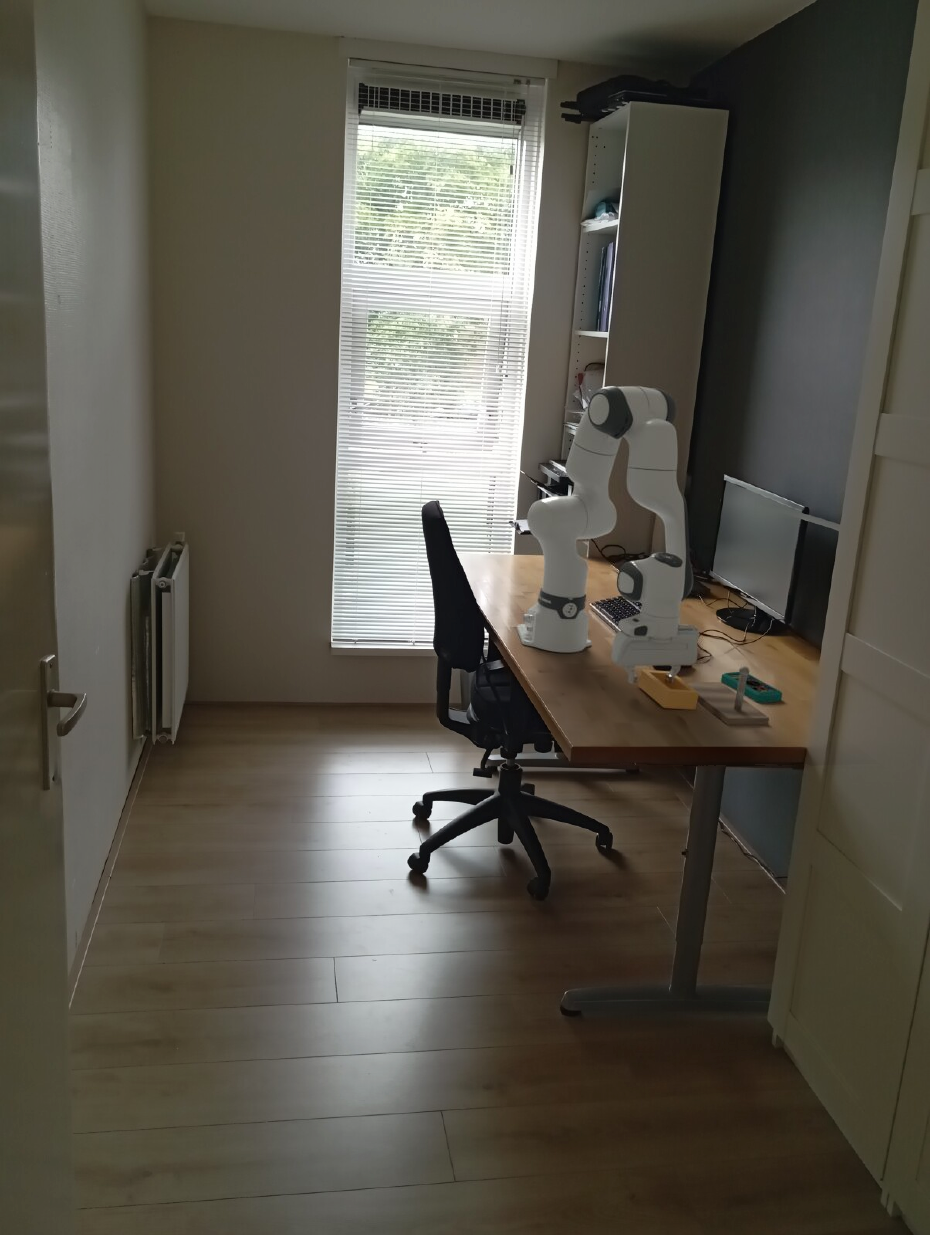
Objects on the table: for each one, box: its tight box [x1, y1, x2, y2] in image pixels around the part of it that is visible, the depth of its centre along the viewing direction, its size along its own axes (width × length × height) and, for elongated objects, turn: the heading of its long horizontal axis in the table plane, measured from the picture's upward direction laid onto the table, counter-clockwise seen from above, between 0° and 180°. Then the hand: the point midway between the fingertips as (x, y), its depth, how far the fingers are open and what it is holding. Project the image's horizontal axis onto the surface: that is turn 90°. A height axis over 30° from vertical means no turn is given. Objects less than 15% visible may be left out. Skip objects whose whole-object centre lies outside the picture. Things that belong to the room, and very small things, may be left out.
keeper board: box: [685, 665, 770, 726], centre depth 230 cm, size 22×10×12 cm, turn 15°
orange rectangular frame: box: [637, 669, 699, 710], centre depth 233 cm, size 14×8×4 cm, turn 15°
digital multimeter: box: [720, 671, 783, 704], centre depth 243 cm, size 7×15×3 cm, turn 23°
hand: (650, 682), depth 235 cm, fingers open, 8 cm apart
